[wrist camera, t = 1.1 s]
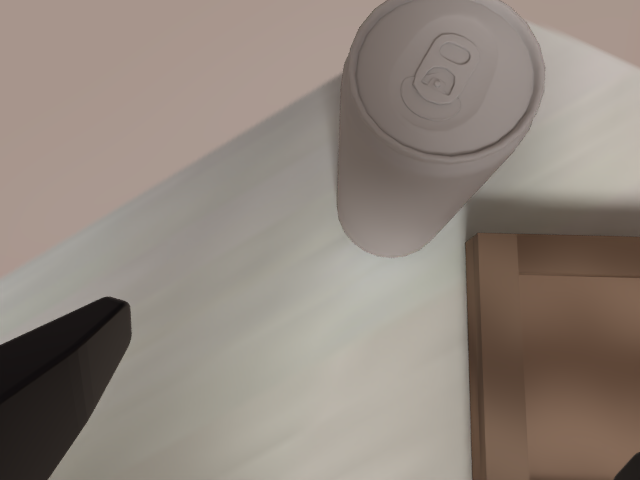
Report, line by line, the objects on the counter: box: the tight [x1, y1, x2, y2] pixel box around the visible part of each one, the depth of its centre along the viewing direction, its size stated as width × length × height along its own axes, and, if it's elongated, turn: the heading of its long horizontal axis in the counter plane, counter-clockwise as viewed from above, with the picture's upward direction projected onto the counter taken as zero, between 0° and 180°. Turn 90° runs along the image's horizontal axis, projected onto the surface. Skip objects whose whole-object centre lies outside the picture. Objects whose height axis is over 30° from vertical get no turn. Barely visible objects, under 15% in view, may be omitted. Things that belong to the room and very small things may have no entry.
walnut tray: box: [465, 233, 640, 480], centre depth 20 cm, size 12×12×2 cm
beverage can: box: [337, 0, 545, 258], centre depth 17 cm, size 5×5×12 cm
